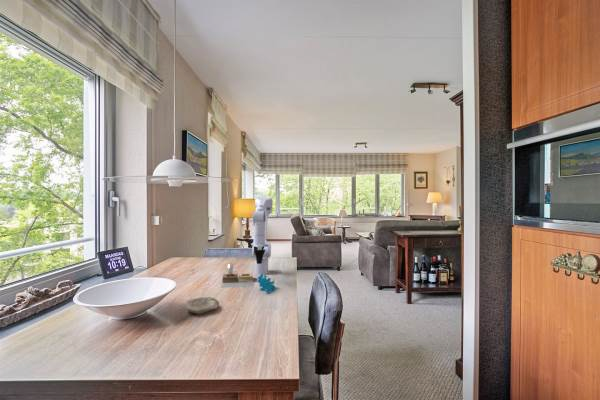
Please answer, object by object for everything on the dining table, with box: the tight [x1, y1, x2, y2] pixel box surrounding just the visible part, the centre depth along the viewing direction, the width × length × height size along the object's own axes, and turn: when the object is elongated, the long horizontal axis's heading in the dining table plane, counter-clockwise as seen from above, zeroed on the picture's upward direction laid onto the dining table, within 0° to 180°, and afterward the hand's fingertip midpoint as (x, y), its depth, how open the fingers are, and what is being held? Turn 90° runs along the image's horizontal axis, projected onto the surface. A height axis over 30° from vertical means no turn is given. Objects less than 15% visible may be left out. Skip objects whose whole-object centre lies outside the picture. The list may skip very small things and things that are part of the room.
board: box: [221, 276, 255, 288], centre depth 147 cm, size 16×15×1 cm
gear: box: [256, 274, 277, 294], centre depth 134 cm, size 11×6×10 cm
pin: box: [227, 263, 234, 277], centre depth 149 cm, size 2×2×8 cm
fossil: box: [185, 296, 220, 315], centre depth 112 cm, size 11×12×3 cm
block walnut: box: [222, 273, 239, 283], centre depth 149 cm, size 7×7×2 cm
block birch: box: [238, 272, 254, 282], centre depth 150 cm, size 7×7×2 cm
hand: (258, 262), depth 150 cm, fingers open, 7 cm apart
